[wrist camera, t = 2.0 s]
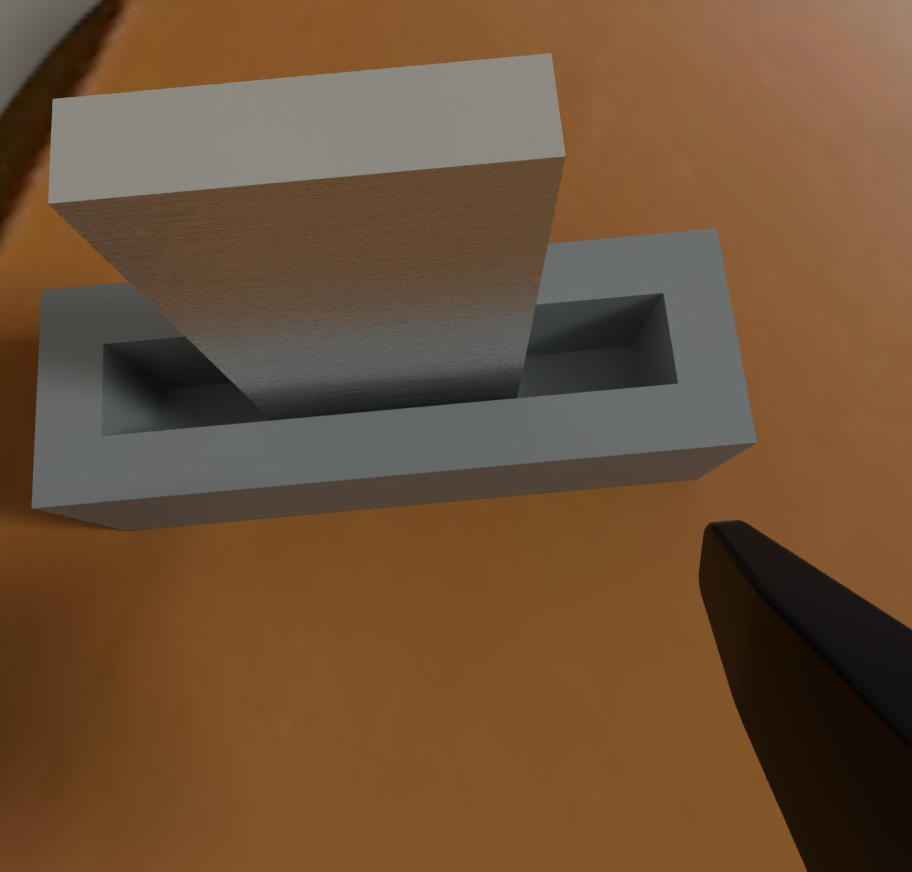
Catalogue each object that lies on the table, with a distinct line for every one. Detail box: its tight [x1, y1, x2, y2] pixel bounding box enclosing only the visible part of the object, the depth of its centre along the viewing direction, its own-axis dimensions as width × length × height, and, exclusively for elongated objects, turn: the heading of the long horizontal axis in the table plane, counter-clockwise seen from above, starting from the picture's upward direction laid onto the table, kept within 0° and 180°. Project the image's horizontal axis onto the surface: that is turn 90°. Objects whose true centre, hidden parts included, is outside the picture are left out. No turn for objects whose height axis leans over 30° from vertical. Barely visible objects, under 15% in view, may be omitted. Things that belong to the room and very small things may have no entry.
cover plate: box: [48, 53, 565, 421], centre depth 15 cm, size 1×6×12 cm, turn 95°
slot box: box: [32, 228, 757, 531], centre depth 19 cm, size 5×16×4 cm, turn 95°
